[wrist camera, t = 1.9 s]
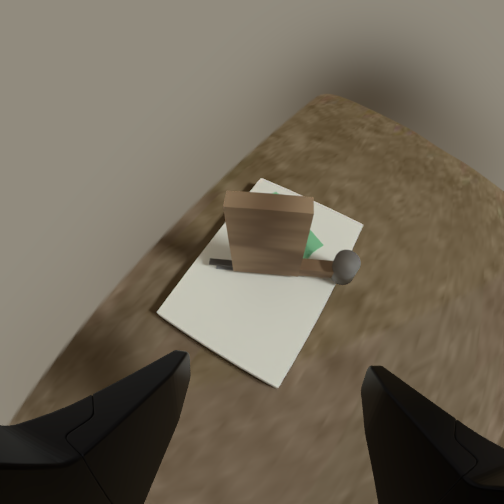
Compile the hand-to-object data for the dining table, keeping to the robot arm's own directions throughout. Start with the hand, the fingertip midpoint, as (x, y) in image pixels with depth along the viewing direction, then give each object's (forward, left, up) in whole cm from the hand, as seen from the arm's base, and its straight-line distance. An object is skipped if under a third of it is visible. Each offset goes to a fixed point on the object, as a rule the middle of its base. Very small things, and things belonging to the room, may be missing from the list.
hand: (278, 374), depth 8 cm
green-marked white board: (+5, -9, -14) cm, 17 cm away
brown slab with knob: (+4, -9, -12) cm, 16 cm away
